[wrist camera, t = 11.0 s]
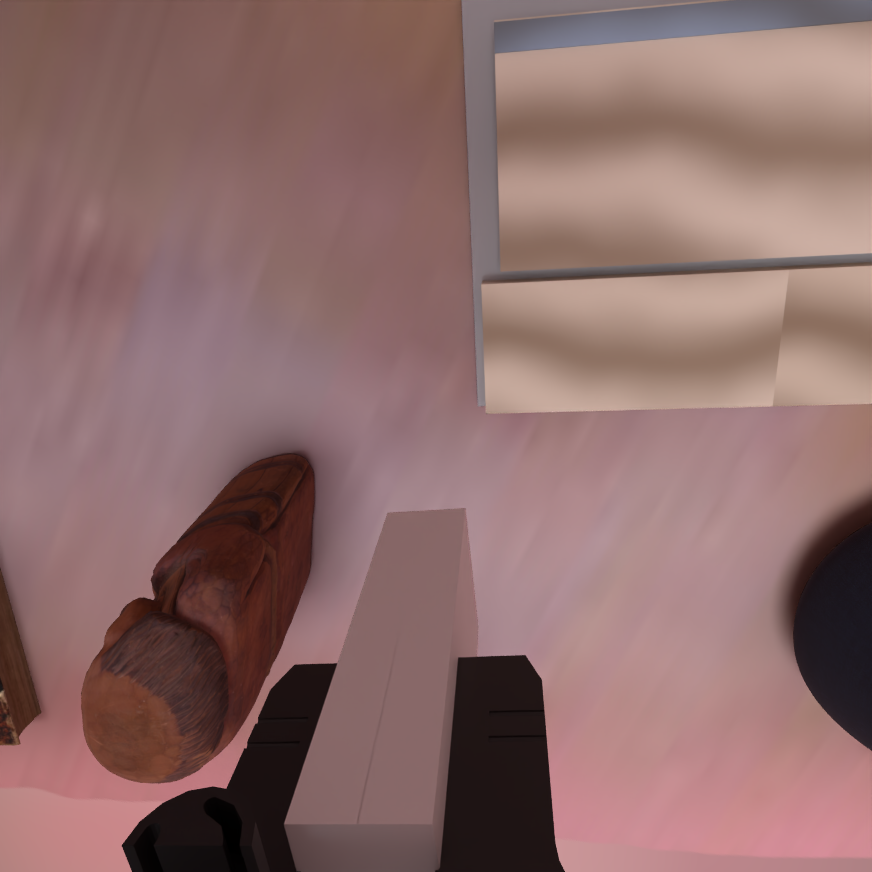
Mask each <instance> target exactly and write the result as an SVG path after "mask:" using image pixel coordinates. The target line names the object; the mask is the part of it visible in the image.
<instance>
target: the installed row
mask: <svg viewBox="0 0 872 872" xmlns="http://www.w3.org/2000/svg"><path fill="white" fill-rule="evenodd" d="M481 291H482V319H483V347H484V375H485V403H486V414H494V413H533V412H572V411H611V410H650V409H689V408H729V407H768V406H807V405H846V404H872V262H861V263H840V264H820V265H799V266H778V267H758V268H737V269H716V270H696V271H675V272H654V273H634V274H613V275H592V276H571V277H551V278H530V279H509V280H489V281H482V283H481Z"/></svg>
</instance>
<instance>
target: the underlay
mask: <svg viewBox="0 0 872 872" xmlns="http://www.w3.org/2000/svg"><path fill="white" fill-rule="evenodd" d="M697 1H708V0H462V24H463V49H464V74H465V99H466V124H467V149H468V174H469V199H470V224H471V249H472V274H473V299H474V324H475V349H476V373H477V398H478V406H486V403H485V375H484V347H483V319H482V291H481V283H482V281H489V280H509V279H530V278H551V277H571V276H592V275H613V274H634V273H654V272H675V271H696V270H716V269H737V268H758V267H778V266H799V265H820V264H840V263H861V262H872V253H865V254H845V255H825V256H805V257H785V258H765V259H745V260H724V261H704V262H684V263H664V264H644V265H624V266H604V267H584V268H564V269H544V270H523V271H503V272H501V271H500V232H499V194H498V155H497V117H496V79H495V42H494V20H503V19H513V18H524V17H535V16H546V15H557V14H567V13H578V12H589V11H600V10H611V9H621V8H632V7H643V6H654V5H665V4H675V3H686V2H697Z"/></svg>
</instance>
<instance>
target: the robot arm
mask: <svg viewBox="0 0 872 872" xmlns="http://www.w3.org/2000/svg"><path fill="white" fill-rule="evenodd" d="M477 646H478V619H477V610H476V601H475V592H474V583H473V573H472V564H471V555H470V546H469V537H468V528H467V519H466V509H465V508H461V509H444V510H427V511H410V512H393V513H387V516H386V519H385V522H384V525H383V528H382V531H381V534H380V537H379V540H378V543H377V546H376V549H375V552H374V555H373V558H372V561H371V564H370V567H369V570H368V573H367V576H366V579H365V582H364V585H363V588H362V591H361V594H360V597H359V600H358V603H357V606H356V609H355V612H354V615H353V618H352V621H351V624H350V627H349V630H348V633H347V636H346V639H345V642H344V645H343V648H342V651H341V654H340V657H339V660H338V663H334V664H301V665H294V666H293V667H292V668H291V669H290V670H289V671H288V672H287V673H286V674H285V675H284V676H283V677H282V678H281V679H280V680H279V681H278V682H277V683H276V684H275V686H274V687H273V688H272V689H271V690H270V692H269V694H268V697H267V699H266V701H265V703H264V706H263V708H262V710H261V712H260V715H259V717H258V724H255V726H254V728H253V730H252V733H251V735H250V737H249V739H248V742H247V748H244V751H243V753H242V755H241V757H240V759H239V762H238V764H237V766H236V768H235V771H234V773H233V775H232V777H231V780H230V782H229V784H228V786H227V789H224V788H218V787H208V788H202V789H196V790H191V791H187V792H185V793H183V794H181V795H179V796H177V797H175V798H172V799H170V800H168V801H166V802H164V803H162V804H161V805H160V806H159V807H157V808H156V809H155V810H154V811H152V812H151V813H150V814H149V815H147V816H146V817H145V818H144V819H142V820H141V821H140V822H139V823H138V825H137V826H136V827H135V829H134V830H133V831H132V833H131V834H130V835H129V836H128V838H127V839H126V840H125V842H124V843H123V844H122V847H123V850H124V852H125V855H126V857H127V860H128V862H129V865H130V868H131V870H132V872H565V871H564V869H563V867H562V865H561V863H560V861H559V857H558V853H557V848H556V844H555V835H554V822H553V810H552V798H551V786H550V774H549V762H548V749H547V738H546V725H545V713H544V701H543V689H542V680H541V678H540V676H539V675H538V673H537V672H536V670H535V669H534V667H533V666H532V664H531V663H530V661H529V660H528V658H527V657H526V655H519V656H487V657H477Z"/></svg>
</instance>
